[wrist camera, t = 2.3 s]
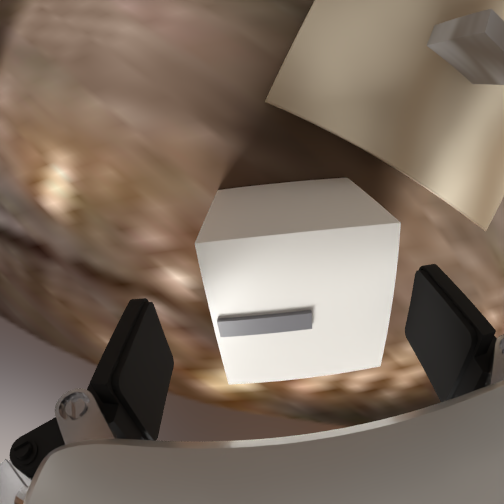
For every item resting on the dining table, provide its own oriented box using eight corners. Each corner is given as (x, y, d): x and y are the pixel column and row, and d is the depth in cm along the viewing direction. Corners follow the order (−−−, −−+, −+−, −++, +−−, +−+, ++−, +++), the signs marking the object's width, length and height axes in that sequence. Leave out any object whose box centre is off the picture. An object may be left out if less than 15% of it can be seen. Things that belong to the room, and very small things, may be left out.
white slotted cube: (347, 177, 15) (403, 224, 9) (346, 287, 17) (381, 369, 12) (217, 190, 15) (193, 246, 9) (236, 299, 18) (228, 387, 12)
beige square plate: (536, 50, 10) (598, 54, 4) (472, 221, 15) (533, 267, 10) (363, -87, 7) (401, -138, 2) (264, 101, 13) (271, 95, 8)
